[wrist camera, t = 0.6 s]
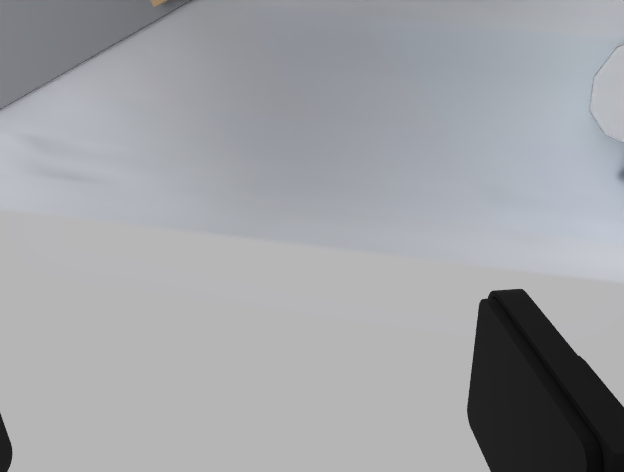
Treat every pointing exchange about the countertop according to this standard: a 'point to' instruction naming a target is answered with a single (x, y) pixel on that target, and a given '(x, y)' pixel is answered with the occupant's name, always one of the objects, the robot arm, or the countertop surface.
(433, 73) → the countertop surface
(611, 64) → the white bottle
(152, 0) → the oak link
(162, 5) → the charcoal mat
